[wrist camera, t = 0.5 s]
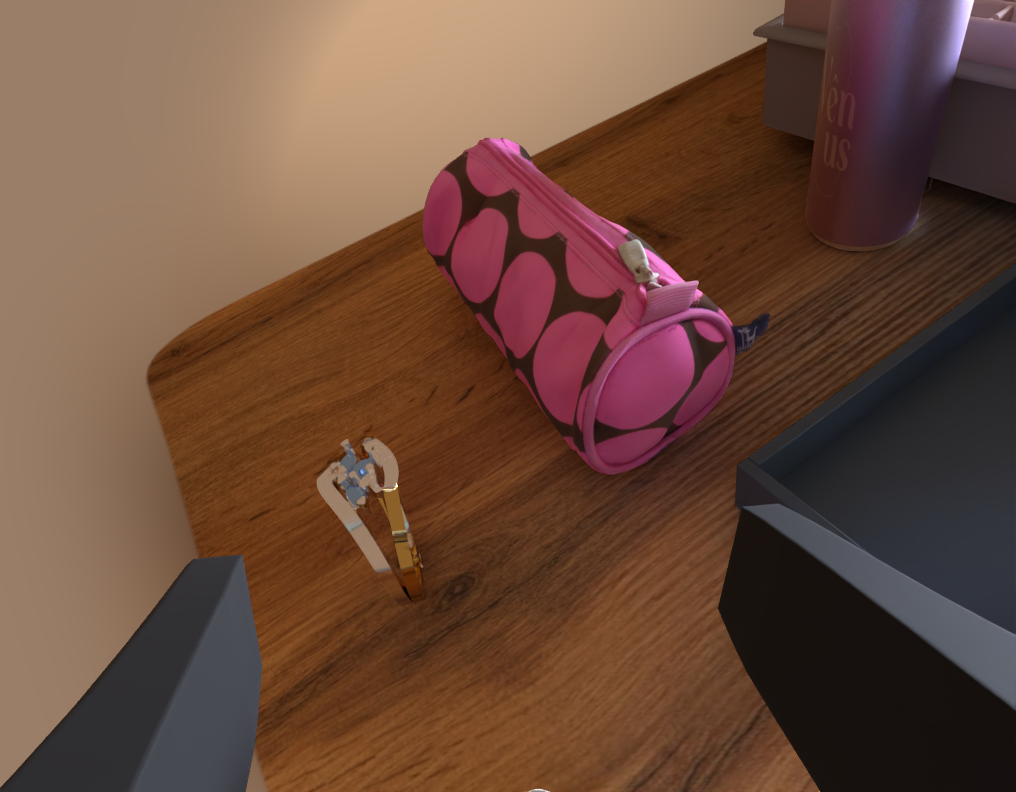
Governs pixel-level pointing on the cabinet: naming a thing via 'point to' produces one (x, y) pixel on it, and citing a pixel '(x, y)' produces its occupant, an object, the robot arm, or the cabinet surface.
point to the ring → (377, 481)
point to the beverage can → (880, 116)
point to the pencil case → (580, 308)
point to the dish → (917, 458)
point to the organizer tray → (970, 108)
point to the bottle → (537, 790)
